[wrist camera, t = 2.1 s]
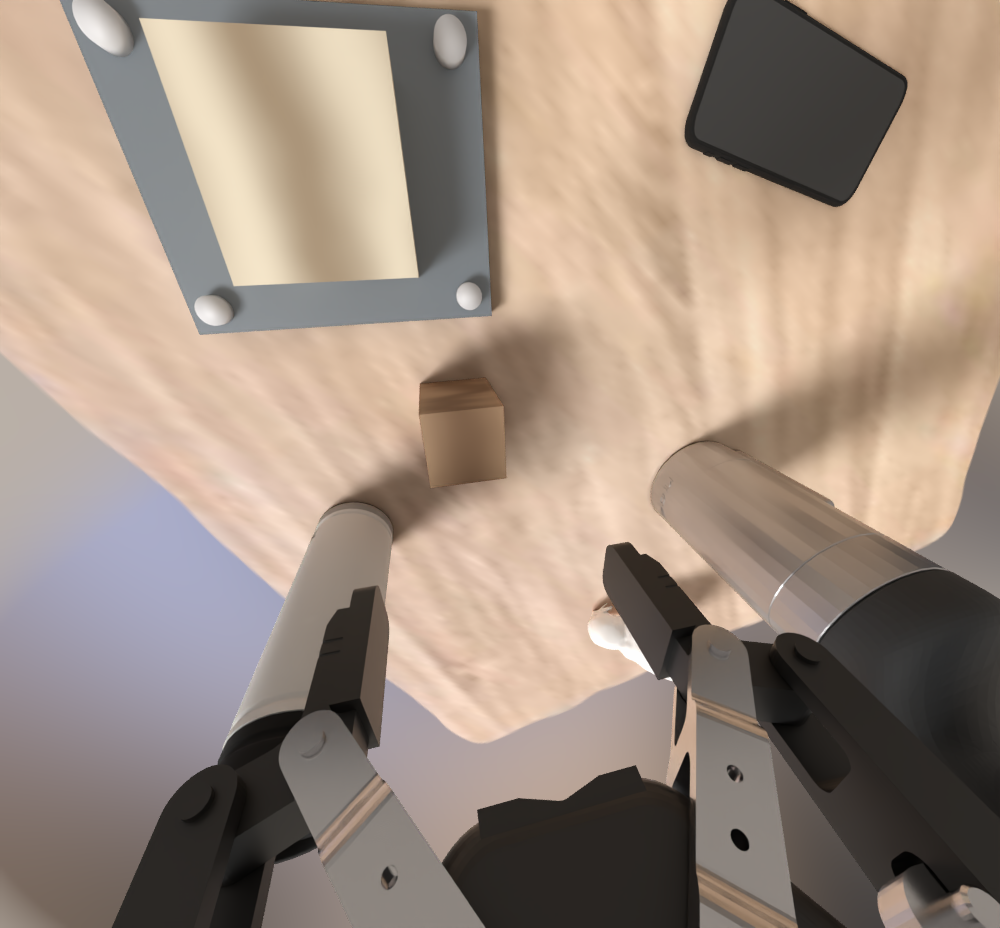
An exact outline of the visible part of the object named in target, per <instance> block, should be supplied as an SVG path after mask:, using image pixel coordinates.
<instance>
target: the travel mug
mask: <svg viewBox="0 0 1000 928" xmlns="http://www.w3.org/2000/svg"><path fill="white" fill-rule="evenodd" d="M392 539H393V527H392V524H391V522H390V520H389V518H388V517H387V516H386V515H385V514H384V513H383V512H382V511H381V510H379V509H377V508H376V507H374V506H371V505H368V504H364V503H356V502H351V503H344V504H340V505H337V506H335V507H333V508H331V509H329V510H328V511H327V512H325V513H324V515H323V516H322V517H321V518H320V520H319V523H318V525H317V527H316V529H315V532H314V534H313V537H312V539H311V541H310V544H309V546H308V548H307V551H306V553H305V555H304V558H303V560H302V562H301V565H300V567H299V569H298V572H297V574H296V576H295V579H294V581H293V583H292V586H291V588H290V590H289V593H288V595H287V597H286V600H285V602H284V604H283V607H282V609H281V612H280V614H279V616H278V619H277V621H276V623H275V626H274V628H273V630H272V633H271V635H270V637H269V640H268V642H267V644H266V647H265V649H264V651H263V654H262V656H261V658H260V661H259V663H258V665H257V668H256V670H255V672H254V675H253V677H252V679H251V682H250V684H249V686H248V689H247V691H246V693H245V696H244V698H243V700H242V703H241V705H240V708H239V710H238V713H237V715H236V717H235V719H234V722H233V724H232V728H231V730H230V732H229V734H228V736H227V738H226V740H225V743H224V745H223V750H222V753H221V756H220V758H219V760H218V765H221V764H224V765H228V766H230V767H232V768H233V769H234V771H235V770H237V769H238V768H240V767H242V766H244V765H246V764H247V763H249V762H251V761H253V760H255V759H256V758H258V757H260V756H262V755H264V754H265V753H267V752H269V751H270V750H272V749H274V748H275V747H276V746H278V745H279V744H280V743H282V742H283V741H284V739H285V737H286V735H287V734H288V733H289V731H290V730H291V729H292V728H293V726H294V725H295V724H296V723H297V722H299V721H300V719H301V717H302V715H303V712H304V709H305V705H306V701H307V697H308V694H309V690H310V686H311V682H312V679H313V675H314V671H315V667H316V664H317V660H318V658H319V652H320V649H321V645H322V644H323V637H324V634H325V630H326V626H327V624H328V622H329V621H330V619H331V618H332V617H333V615H334V614H335V612H336V611H337V609H342V608H348V607H350V602H351V597H352V593H353V590H354V589H359V588H364V587H370V586H376V585H378V586H379V588H380V591H381V594H382V598H383V601H384V605H385V599H386V590H387V582H388V573H389V564H390V556H391V546H392ZM316 848H318V847H317V845H316V842H315V840H314V838H313V836H312V834H311V832H310V833H309V834H307V835H306V836H304V837H303V838H301V839H300V840H298V841H297V842H295V843H294V844H292V845H291V846H289V847H288V848H286V849H285V850H283V851H282V852H280V853H279V854H277V855H276V858H275V863H274V864H277V863H280V862H284V861H287V860H290V859H293V858H296V857H298V856H300V855H303V854H305V853H308V852H310V851H312V850H313V849H316Z"/></svg>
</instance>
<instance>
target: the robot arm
mask: <svg viewBox="0 0 1000 928" xmlns="http://www.w3.org/2000/svg"><path fill="white" fill-rule="evenodd" d="M651 501H652V505H653V507H654V509H655V511H656V512H657V513H658V514H659V515H660V516H661V517H662V518H663V519H664V520H665V521H666V522H667V523H668V524H669V525H670V526H671V527H672V528H673V529H674V530H675V531H676V532H677V533H678V534H679V535H680V536H681V537H682V538H683V539H684V540H685V541H686V542H687V543H688V544H689V545H690V546H691V547H692V548H693V549H694V550H695V551H696V552H697V553H698V554H699V555H700V556H701V557H702V558H703V559H704V560H705V561H706V562H707V563H708V564H709V565H710V566H711V567H712V568H713V569H714V570H715V571H716V572H717V573H718V574H719V575H720V576H721V577H722V578H723V579H724V580H725V581H726V582H727V583H728V584H729V585H730V586H731V587H732V588H733V589H734V590H735V591H736V592H737V593H738V594H739V596H740V597H741V598H742V599H743V600H744V601H745V602H746V603H747V604H748V605H749V606H750V607H751V608H752V609H753V610H754V611H755V612H756V613H757V614H758V615H759V616H760V617H761V618H762V619H763V620H764V621H766V623H767V624H768V625H769V626H770V627H771V628H773V629H774V630H775V631H776V632H777V633H778V634H779V635H778V636H777V638H776V640H775V642H774V644H768V643H758V642H749V641H742V640H740V639H738V638H737V637H736V636H735V635H734V634H733V633H731V632H729V631H728V630H726V629H724V628H722V627H719V626H715V625H711V624H710V622H709V621H708V620H707V619H706V618H705V617H704V615H703V614H702V613H701V612H700V611H699V609H698V608H697V607H696V606H695V605H694V604H693V602H692V601H691V600H690V599H689V598H688V596H687V595H686V594H685V593H684V592H683V590H682V589H681V588H680V587H678V586H677V583H676V582H675V581H674V580H673V578H672V577H670V576H669V574H668V572H667V571H666V570H665V569H664V568H663V566H662V565H661V564H660V563H659V562H657V561H656V560H654V559H653V558H651V557H650V556H648V555H647V554H643V555H640V554H639V553H638V552H637V550H636V549H635V548H634V547H633V545H632V544H631V543H629V542H625V543H619V544H614V545H608V546H607V548H606V554H605V562H604V569H603V584H604V587H605V590H606V593H607V594H608V596H609V598H610V599H611V601H612V603H613V605H614V606H615V608H616V610H617V611H618V613H619V615H620V616H621V618H622V620H623V621H624V623H625V625H626V627H627V628H628V630H629V632H630V633H631V635H632V637H633V638H634V640H635V642H636V643H637V645H638V647H639V649H640V650H641V652H642V654H643V655H644V657H645V659H646V660H647V662H648V664H649V665H650V667H651V669H652V671H653V672H654V674H655V675H656V677H657V679H658V680H660V679H664V678H669V677H671V679H672V680H673V682H674V684H675V689H674V702H673V722H672V738H671V739H672V740H671V753H670V760H669V766H668V771H667V778H666V784H663V783H661V782H658V781H655V780H651V779H646V778H641V776H640V774H639V772H638V769H637V767H636V765H635V766H632V767H628V768H625V769H621V770H617V771H614V772H610V773H606V774H603V775H599V776H598V777H596V778H595V779H594V780H592V781H591V782H589V783H588V784H587V785H586V786H584V787H583V788H581V789H580V790H578V791H577V792H575V793H574V794H573V795H571V796H570V797H569V798H567V799H565V800H563V801H552V800H551V801H550V800H536V799H521V798H518V799H514V800H511V801H507V802H503V803H500V804H496V805H493V806H489V807H486V808H483V809H479V810H477V811H478V820H479V823H477V824H476V825H474V826H473V827H472V828H470V829H469V830H468V831H467V832H466V833H465V834H464V835H463V836H462V837H460V839H459V840H458V841H457V842H456V843H455V845H454V846H453V847H452V848H451V850H450V851H449V853H448V854H447V856H446V857H445V859H444V860H443V862H442V863H441V862H440V860H439V859H438V857H437V856H436V854H435V853H434V851H433V850H432V848H431V847H430V845H429V844H428V842H427V841H426V839H425V838H424V837H423V835H422V834H421V832H420V831H419V829H418V828H417V826H416V825H415V823H414V822H413V820H412V819H411V817H410V816H409V815H408V813H407V812H406V810H405V809H404V807H403V806H402V804H401V803H400V801H399V800H398V799H397V797H396V795H395V794H394V792H393V791H392V790H391V788H390V787H389V785H388V784H387V783H386V782H385V781H384V780H382V779H381V777H380V776H379V775H378V773H377V772H376V770H375V769H374V767H373V766H372V764H371V763H370V761H369V760H368V758H367V753H368V749H371V748H375V747H379V746H380V734H381V723H382V712H383V699H384V688H385V677H386V665H387V653H388V642H389V621H388V616H387V612H386V608H385V605H384V601H383V598H382V594H381V591H380V588H379V586H378V585H376V586H370V587H364V588H359V589H354V590H353V593H352V597H351V602H350V607H348V608H342V609H337V611H336V612H335V614H334V615H333V617H332V618H331V619H330V621H329V622H328V624H327V626H326V630H325V634H324V637H323V644H322V645H321V649H320V652H319V658H318V660H317V664H316V667H315V671H314V675H313V679H312V682H311V686H310V690H309V694H308V697H307V701H306V705H305V709H304V712H303V715H302V717H301V719H300V721H299V722H297V723H296V724H295V725H294V726H293V728H292V729H291V730H290V731H289V733H288V734H287V735H286V737H285V739H284V741H283V742H282V743H280V744H279V745H278V746H276V747H275V748H274V749H272V750H270V751H269V752H267V753H265V754H264V755H262V756H260V757H258V758H256V759H255V760H253V761H251V762H249V763H247V764H246V765H244V766H242V767H240V768H238V769H237V770H235V771H234V769H233V768H232V767H230V766H228V765H224V764H221V765H214V766H211V767H208V768H206V769H204V770H202V771H200V772H199V773H197V774H195V775H194V776H193V777H191V778H190V779H189V780H188V781H186V782H185V783H184V784H183V785H182V786H181V787H180V788H179V789H178V790H177V791H176V793H175V794H174V795H173V796H172V798H171V799H170V800H169V802H168V803H167V805H166V806H165V808H164V810H163V812H162V814H161V816H160V818H159V820H158V823H157V825H156V827H155V829H154V832H153V834H152V836H151V839H150V841H149V843H148V846H147V848H146V850H145V852H144V855H143V857H142V859H141V862H140V864H139V866H138V869H137V871H136V873H135V875H134V878H133V880H132V882H131V885H130V888H129V890H128V892H127V894H126V896H125V899H124V901H123V903H122V906H121V908H120V910H119V912H118V915H117V917H116V920H115V922H114V924H113V926H112V928H261V926H262V921H263V916H264V911H265V906H266V902H267V897H268V891H269V887H270V882H271V877H272V872H273V867H274V863H275V858H276V855H277V854H279V853H280V852H282V851H283V850H285V849H286V848H288V847H289V846H291V845H292V844H294V843H295V842H297V841H298V840H300V839H301V838H303V837H304V836H306V835H307V834H309V833H310V832H311V834H312V836H313V838H314V840H315V842H316V845H317V847H318V853H319V857H320V859H321V862H322V864H323V866H324V869H325V871H326V873H327V875H328V877H329V879H330V882H331V883H332V885H333V888H334V890H335V892H336V894H337V896H338V899H339V901H340V903H341V905H342V907H343V909H344V911H345V913H346V916H347V918H348V920H349V922H350V924H351V926H352V928H847V927H845V926H844V925H843V924H841V923H840V922H839V921H838V920H837V919H836V918H834V917H833V916H832V915H831V914H829V913H828V912H827V911H826V910H825V909H823V908H822V907H821V906H820V905H819V904H817V903H816V902H815V901H814V900H813V899H811V898H810V897H809V896H808V895H806V894H805V893H804V892H803V891H802V890H800V889H799V888H798V887H797V886H795V885H794V884H793V883H792V882H791V881H790V876H789V869H788V863H787V856H786V850H785V843H784V836H783V829H782V823H781V816H780V809H779V803H778V796H777V789H776V783H775V776H774V770H773V763H772V756H771V749H770V743H769V738H770V739H771V741H772V742H773V743H774V745H775V746H776V748H777V749H778V750H779V752H780V753H781V755H782V756H783V758H784V759H785V761H786V762H787V763H788V765H789V766H790V767H791V769H792V771H793V772H794V773H795V775H796V776H797V778H798V779H799V781H800V782H801V783H802V785H803V786H804V788H805V789H806V790H807V792H808V793H809V795H810V796H811V798H812V799H813V800H814V802H815V803H816V805H817V806H818V808H819V809H820V810H821V812H822V813H823V815H824V816H825V817H826V819H827V820H828V822H829V823H830V825H831V826H832V828H833V829H834V830H835V832H836V833H837V835H838V836H839V837H840V839H841V840H842V842H843V843H844V845H845V846H846V847H847V849H848V850H849V852H850V853H851V855H852V856H853V857H854V859H855V860H856V862H857V863H858V864H859V866H860V867H861V869H862V870H863V872H864V873H865V875H866V876H867V877H868V878H869V880H870V882H871V883H872V884H873V886H874V887H875V889H876V890H877V892H878V907H879V912H880V915H881V918H882V921H883V923H884V925H885V928H1000V599H999V598H997V597H995V596H994V595H992V594H991V593H989V592H987V591H986V590H984V589H982V588H980V587H978V586H977V585H975V584H973V583H971V582H969V581H968V580H966V579H964V578H962V577H960V576H959V575H957V574H955V573H953V572H950V571H949V570H947V569H945V568H943V567H941V566H939V565H938V564H936V563H934V562H932V561H930V560H928V559H927V558H925V557H923V556H922V555H920V554H918V553H916V552H914V551H913V550H911V549H909V548H907V547H905V546H904V545H902V544H900V543H898V542H897V541H895V540H893V539H891V538H889V537H887V536H885V535H884V534H882V533H880V532H878V531H876V530H875V529H873V528H871V527H869V526H867V525H866V524H864V523H862V522H860V521H858V520H857V519H855V518H853V517H851V516H850V515H848V514H846V513H844V512H842V511H841V510H839V509H837V508H835V507H834V503H833V502H832V501H831V500H830V499H828V498H826V497H824V496H823V495H821V494H819V493H817V492H815V491H813V490H812V489H810V488H808V487H806V486H804V485H802V484H801V483H799V482H797V481H795V480H793V479H791V478H789V477H788V476H786V475H784V474H782V473H780V472H778V471H777V470H775V469H773V468H771V467H769V466H767V465H766V464H764V463H762V462H760V461H758V460H756V459H755V458H753V457H751V456H749V455H747V454H745V453H744V452H742V451H740V450H737V451H734V450H732V449H730V448H728V447H726V446H725V445H723V444H720V443H718V442H711V441H706V442H698V443H695V444H692V445H689V446H687V447H685V448H683V449H681V450H680V451H678V452H677V453H676V454H674V455H673V456H672V457H671V458H670V459H669V460H668V461H667V462H666V463H665V464H664V465H663V466H662V467H661V469H660V470H659V472H658V473H657V475H656V477H655V479H654V481H653V485H652V488H651ZM757 721H758V722H759V724H760V725H761V726H762V727H761V726H759V725H758V723H757ZM768 736H769V738H768Z"/></svg>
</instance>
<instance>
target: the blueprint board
mask: <svg viewBox="0 0 1000 928" xmlns="http://www.w3.org/2000/svg"><path fill="white" fill-rule="evenodd" d="M60 2H61V4H62V7H63V9H64V12H65V14H66V16H67V19H68V21H69V23H70V26H71V28H72V31H73V33H74V35H75V38H76V40H77V43H78V45H79V47H80V50H81V52H82V55H83V57H84V59H85V62H86V64H87V66H88V69H89V71H90V74H91V76H92V78H93V81H94V83H95V86H96V88H97V90H98V93H99V95H100V98H101V100H102V102H103V105H104V107H105V109H106V112H107V114H108V117H109V119H110V121H111V124H112V126H113V129H114V131H115V133H116V136H117V138H118V141H119V143H120V145H121V148H122V150H123V153H124V155H125V157H126V160H127V162H128V164H129V167H130V169H131V172H132V174H133V176H134V179H135V181H136V184H137V186H138V188H139V191H140V193H141V196H142V198H143V200H144V203H145V205H146V207H147V210H148V212H149V215H150V217H151V219H152V222H153V224H154V227H155V229H156V231H157V234H158V236H159V239H160V241H161V243H162V246H163V248H164V250H165V253H166V255H167V258H168V260H169V262H170V265H171V267H172V270H173V272H174V274H175V277H176V279H177V282H178V284H179V286H180V289H181V291H182V293H183V296H184V298H185V301H186V303H187V305H188V308H189V310H190V313H191V315H192V317H193V320H194V322H195V325H196V327H197V329H198V332H199V334H200V335H203V334H218V333H234V332H249V331H264V330H280V329H295V328H311V327H326V326H342V325H357V324H373V323H388V322H403V321H419V320H434V319H450V318H465V317H481V316H492V311H491V291H490V271H489V250H488V230H487V209H486V189H485V168H484V148H483V128H482V107H481V87H480V66H479V46H478V25H477V11H463V10H447V9H431V8H415V7H400V6H384V5H368V4H352V3H336V2H320V1H304V0H60ZM139 18H148V19H167V20H186V21H205V22H224V23H243V24H262V25H281V26H299V27H318V28H337V29H356V30H375V31H386V35H387V42H388V49H389V55H390V62H391V69H392V75H393V82H394V90H395V97H396V105H397V113H398V120H399V128H400V135H401V143H402V150H403V158H404V166H405V173H406V181H407V188H408V196H409V204H410V211H411V219H412V226H413V234H414V241H415V249H416V257H417V264H418V272H419V278H399V279H378V280H357V281H336V282H314V283H293V284H272V285H250V286H234V285H233V282H232V280H231V277H230V274H229V271H228V268H227V265H226V263H225V260H224V257H223V254H222V251H221V248H220V246H219V243H218V240H217V237H216V234H215V232H214V229H213V226H212V223H211V220H210V217H209V215H208V212H207V209H206V206H205V203H204V200H203V198H202V195H201V192H200V189H199V186H198V183H197V181H196V178H195V175H194V172H193V169H192V167H191V164H190V161H189V158H188V155H187V152H186V150H185V147H184V144H183V141H182V138H181V135H180V133H179V130H178V127H177V124H176V121H175V118H174V116H173V113H172V110H171V107H170V104H169V102H168V99H167V96H166V93H165V90H164V87H163V85H162V82H161V79H160V76H159V73H158V70H157V68H156V65H155V62H154V59H153V56H152V53H151V51H150V48H149V45H148V42H147V39H146V37H145V34H144V31H143V28H142V25H141V22H140V20H139Z"/></svg>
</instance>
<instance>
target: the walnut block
mask: <svg viewBox="0 0 1000 928" xmlns="http://www.w3.org/2000/svg"><path fill="white" fill-rule="evenodd" d="M419 419H420V425H421V431H422V438H423V444H424V450H425V457H426V463H427V469H428V476H429V482H430V488H436V487H444V486H451V485H458V484H466V483H473V482H481V481H488V480H496V479H503V478H506V455H505V429H504V406H503V404H502V403H501V401H500V400H499V398H498V396H497V395H496V393H495V392H494V390H493V388H492V387H491V385H490V384H489V382H488V381H487V379H486V378H477V379H466V380H454V381H443V382H432V383H421V384H420V394H419Z"/></svg>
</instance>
